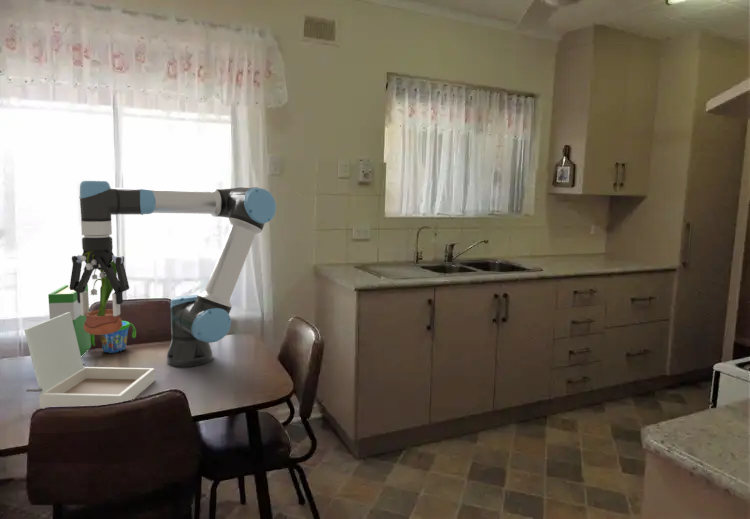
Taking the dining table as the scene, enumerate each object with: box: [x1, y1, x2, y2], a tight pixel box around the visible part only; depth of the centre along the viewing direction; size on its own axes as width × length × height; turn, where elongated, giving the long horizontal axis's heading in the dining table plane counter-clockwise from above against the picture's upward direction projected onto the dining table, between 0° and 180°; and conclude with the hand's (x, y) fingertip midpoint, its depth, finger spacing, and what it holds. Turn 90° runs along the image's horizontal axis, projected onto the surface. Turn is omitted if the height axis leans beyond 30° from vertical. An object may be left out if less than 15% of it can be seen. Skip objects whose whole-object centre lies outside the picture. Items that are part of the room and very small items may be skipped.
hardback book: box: [48, 283, 92, 357], centre depth 183 cm, size 18×7×24 cm, turn 15°
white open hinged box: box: [23, 312, 156, 409], centre depth 150 cm, size 26×22×22 cm
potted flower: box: [81, 251, 123, 336], centre depth 147 cm, size 12×10×25 cm
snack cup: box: [90, 320, 137, 354], centre depth 190 cm, size 16×10×10 cm
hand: (100, 314), depth 148 cm, fingers closed on potted flower, 8 cm apart
